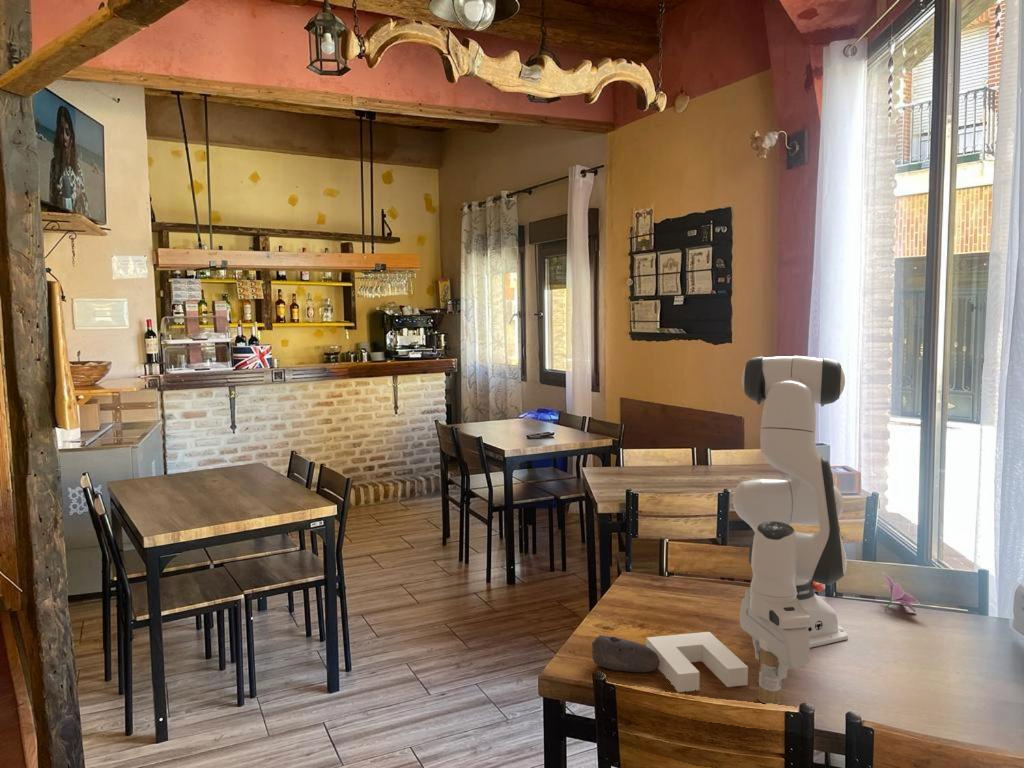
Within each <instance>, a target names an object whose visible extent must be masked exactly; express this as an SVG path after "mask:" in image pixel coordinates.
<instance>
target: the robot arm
mask: <svg viewBox="0 0 1024 768" xmlns="http://www.w3.org/2000/svg"><path fill="white" fill-rule="evenodd" d="M741 373H742V374H741V378H740V379H741V386H742V389H743V391H744V394H745V396H746V397H747V398H748V399H749V400H752V401H754V402H756V404H757V405H760V406H761V403H762V402H764V404H763V408H762V415H761V420H760V421H761V422H760V434H759V435H760V437H759V439H760V441H759V443H760V444H759V445H760V452H761V454H762V456H763V458H764V460H766V462H767V463H768V464H769V465H770V466H771V467H773V468H775V469H776V470H778V471H779V472H782V473H783V474H786V475H788V476H789V478H786V479H775V478H774V479H773V478H772V479H771V478H756V479H749V480H744V481H741V482H740V483H739V484H738V485H737V486H736V488H735V489H734V492H733V495H732V506H733V509H734V511H735V512H736V515H738V517H739V518H740V519H741V520H742V521H744V522H745V523H746V524H748V525H749V527H750V528H751V529H752V531H753V532H754V535H753V537H751V539H750V542H749V547H748V548H749V549H748V551H749V552H748V553H749V555H748V563H749V565H750V567H751V572H752V579H751V582H750V587H749V588H748V589H746V590H745V592H744V597H743V598H742V600H741V605H740V612H739V625H740V628H741V629H742V630H743V631H745V632H746V633H747V634H748V635H749V636H751V639H752V644H753V648H754V657H755V659H756V660H757V661H759V662H760V638H762V639H763V640H765V641H766V642H767V648H768V650H769V651H770V652H771V653H773V654H774V655H775V656H776V657H777V658H778V662H779V663H780V664H779V667H775V671H776V672H775V675H776V676H777V677H778V678H780V679H782V680H785V679H787V678H788V671H789V669H799V668H800V669H801V668H805V667H806V666H807V665H808V664H809V660H810V648H814V647H819V646H823V645H824V646H825V645H828V644H832V643H836V642H841V641H845V640H848V639H849V636H848V632H847V631H846V629H845V628H843V626H841V625H840V624H839V622H838V616H837V613H836V611H835V609H834V608H833V607H832V606H831V605H829V604H828V603H827V602H826V601H825V600H823V599H822V598H821V597H820V596H818V595H817V594H816V593H815V591H817V592H819V593H821V592H822V591H823V590H824V585H826V586H831V585H832V584H834V583H836V582H838V581H839V580H841V579H842V578H843V577H844V576H845V574H846V571H847V562H848V561H847V554H846V550H845V549H846V548H845V547H844V544H843V539H842V536H841V530H840V529H841V528H840V527H841V526H840V521H839V519H840V518H841V516H842V513H843V510H844V505H845V503H844V497H843V494H842V493H841V491H840V490H839V488H838V487H837V486H836V485H835V484H834V479H833V472H832V469H831V465H830V462H829V460H828V459H827V458H826V457H824V456H823V455H821V453H820V452H819V449H818V448H817V443H816V426H817V425H816V424H817V423H816V421H817V415H816V414H817V413H816V412H817V411H816V404H819V405H820V406H821V407H824V406H825V405H829V404H834V403H835V402H836V401H838V400H839V399H840V396H841V395H842V393H843V391H844V388H845V387H846V386H845V385H846V377H845V372H844V369H843V368H842V365H841V363H840V362H839V361H838V360H836V359H832V358H828V357H823V358H819V357H812V356H805V355H804V356H803V355H793V356H789V355H788V356H783V355H782V356H768V357H765V356H762V355H761V356H756V357H751V358H749V360H748V361H747V362H746V363H745V366H744V368H743V370H742V372H741ZM791 525H794V526H795V525H797V526H819V527H818V528H819V531H818V532H816V533H809V532H802V531H795V529H794V528H793V526H791Z"/></svg>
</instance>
